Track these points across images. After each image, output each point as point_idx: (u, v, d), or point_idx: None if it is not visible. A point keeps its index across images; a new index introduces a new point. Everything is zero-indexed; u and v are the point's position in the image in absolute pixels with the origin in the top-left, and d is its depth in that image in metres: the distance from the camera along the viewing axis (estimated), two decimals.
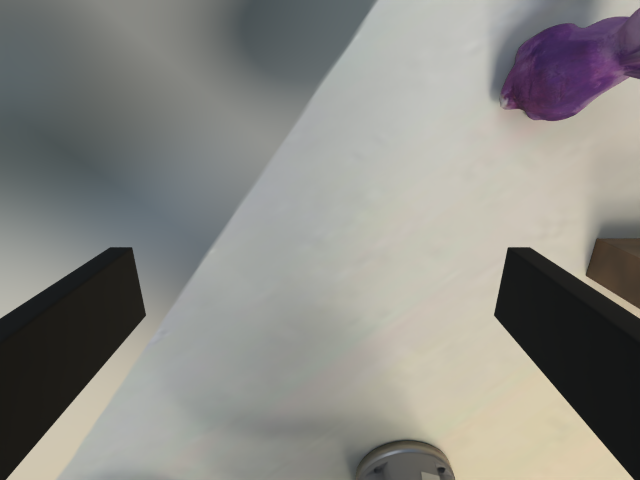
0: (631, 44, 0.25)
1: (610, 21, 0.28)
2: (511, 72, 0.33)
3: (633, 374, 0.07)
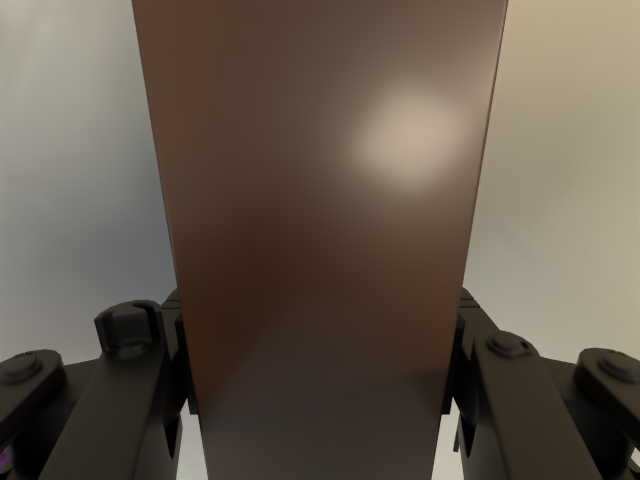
0: None
1: None
2: None
3: None
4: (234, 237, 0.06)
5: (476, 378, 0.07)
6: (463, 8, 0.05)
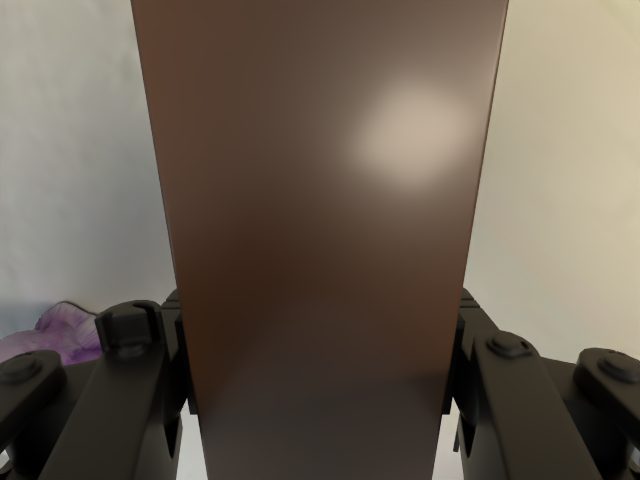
0: None
1: None
2: None
3: None
4: (233, 236, 0.06)
5: (476, 378, 0.07)
6: (463, 6, 0.05)
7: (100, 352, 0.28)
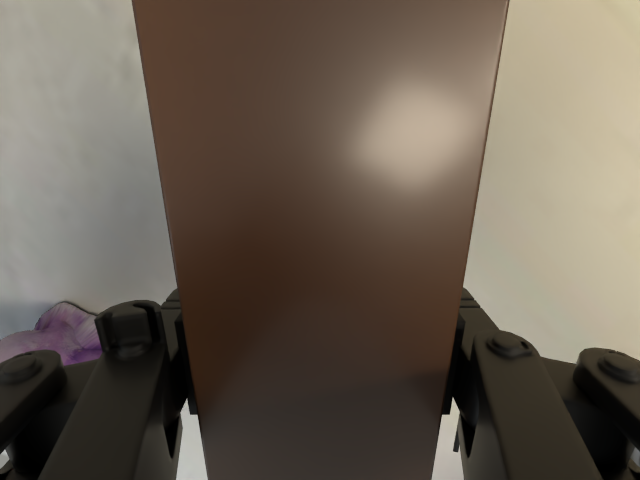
0: None
1: None
2: None
3: None
4: (234, 236, 0.06)
5: (476, 378, 0.07)
6: (464, 6, 0.05)
7: (100, 352, 0.28)
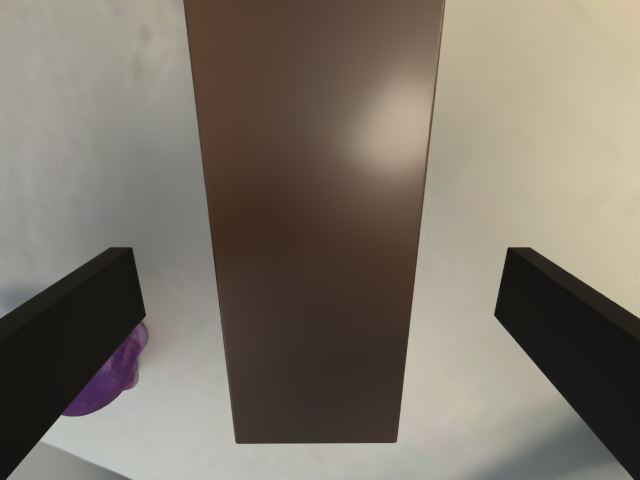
0: None
1: None
2: None
3: (633, 374, 0.07)
4: (253, 194, 0.08)
5: None
6: (412, 31, 0.07)
7: None
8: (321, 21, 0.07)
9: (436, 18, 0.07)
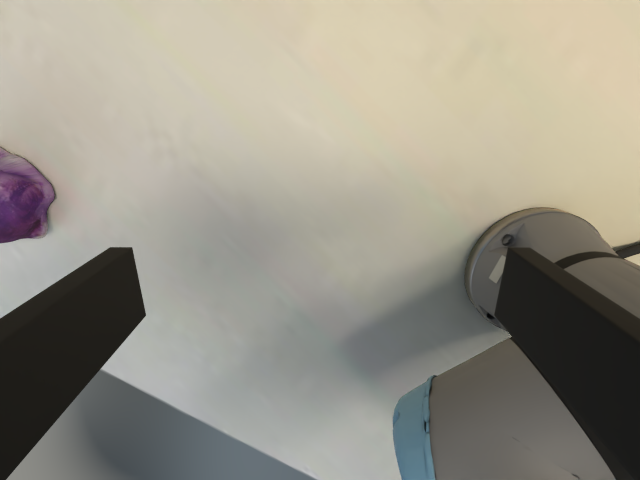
0: None
1: None
2: None
3: (633, 374, 0.07)
4: None
5: None
6: None
7: (16, 175, 0.35)
8: None
9: None
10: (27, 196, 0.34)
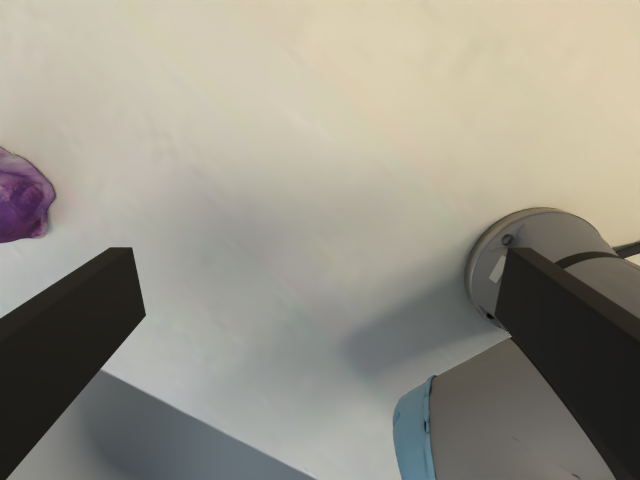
0: None
1: None
2: None
3: (633, 374, 0.07)
4: None
5: None
6: None
7: (16, 175, 0.35)
8: None
9: None
10: (27, 196, 0.34)
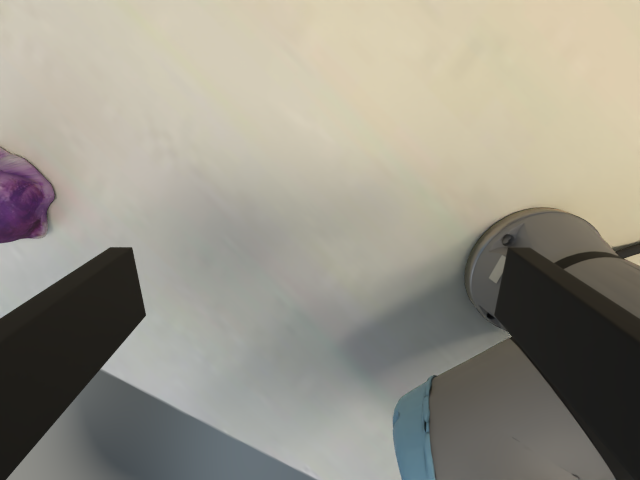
0: None
1: None
2: None
3: (633, 374, 0.07)
4: None
5: None
6: None
7: (16, 175, 0.35)
8: None
9: None
10: (27, 196, 0.34)
